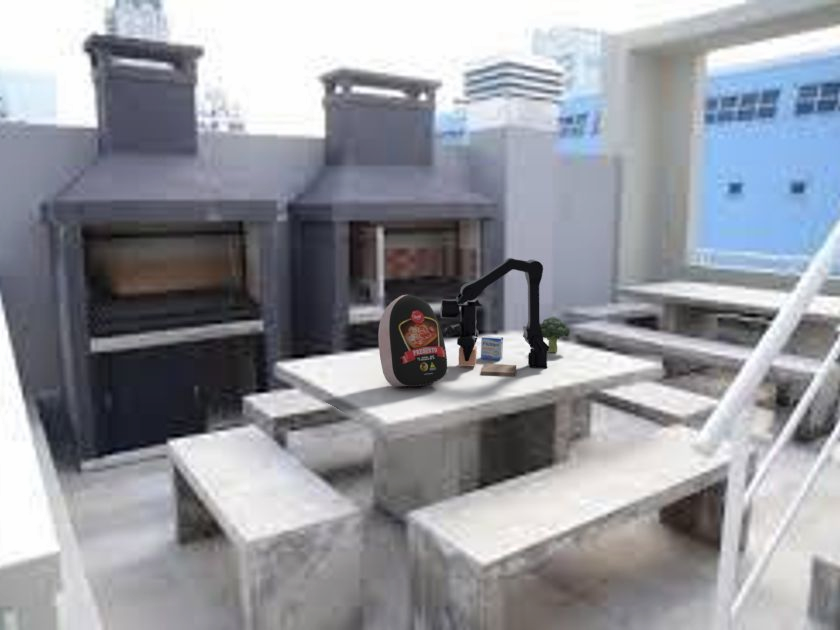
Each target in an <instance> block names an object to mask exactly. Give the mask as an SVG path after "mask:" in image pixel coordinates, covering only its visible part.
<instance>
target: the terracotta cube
mask: <svg viewBox="0 0 840 630" xmlns="http://www.w3.org/2000/svg"><path fill="white" fill-rule="evenodd" d="M476 363H477V346H476V345H475V346H474V348H473V351H472V353H471V356H470V358H469V361H465V357H464V353H463V348H462V347H461V346H459V348H458V366H473V367H475V366H476Z"/></svg>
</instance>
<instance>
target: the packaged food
mask: <svg viewBox="0 0 840 630" xmlns="http://www.w3.org/2000/svg"><path fill="white" fill-rule="evenodd" d="M377 341H378V351H379V358H380V365H381V369H382V373H383V375H384V378H385V380H386V381H387V383H388V384H389V385H391V386H393V387H417V386H426V385H430V384H434V383H436V382H438V381H439V380H441V379H442V378H444V377H445V376H446V374H447V371H448V359H447V358H448V357H447V349H446V345H445V344H446V343H445V340H444V335H443V333H442V329H441V325H440V323H439V320H438V318H437V316H436V314H435V312H434V309H433V308H432V307H431V305H430V303H428V302H427V301H426V300H424V299H422V298H421V297H417V296H416V295H411V294H404V295H403V294H402V295H400V296H398V297H397V298H395V299H394V300H392V301H391V302H390V303H389V304H388V305H387V307H386V308H385V310H384V311H383V313H382V315H381V318H380V321H379V326H378V340H377Z"/></svg>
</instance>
